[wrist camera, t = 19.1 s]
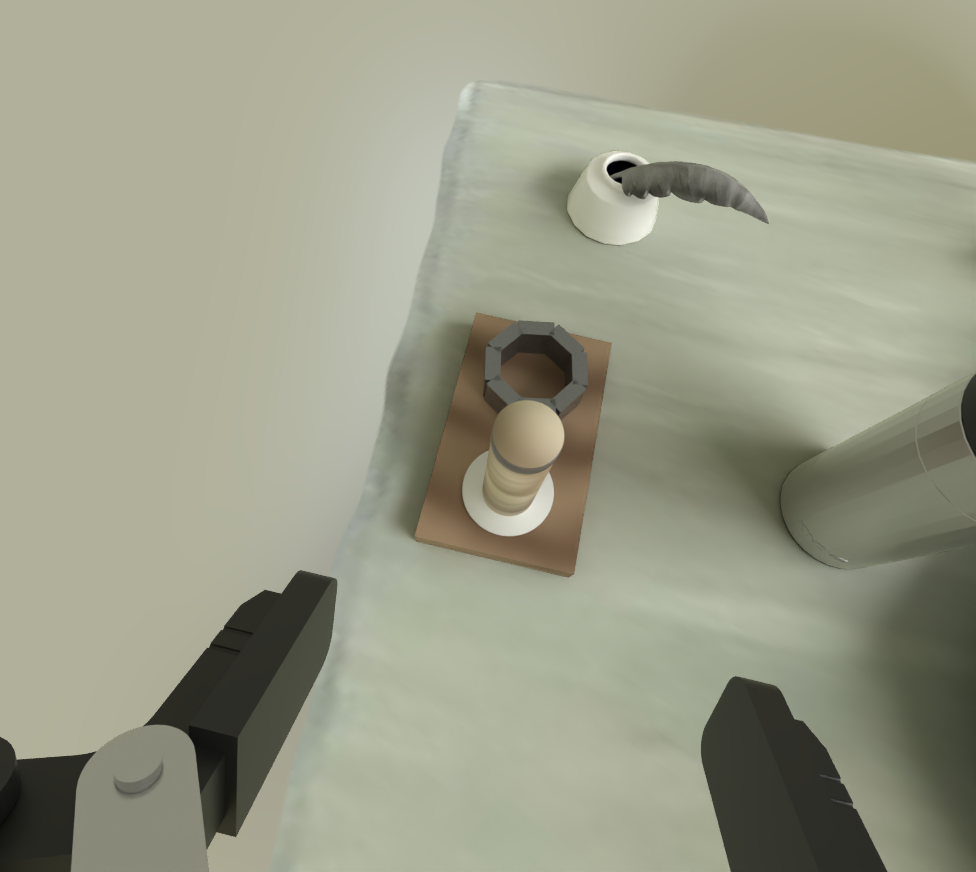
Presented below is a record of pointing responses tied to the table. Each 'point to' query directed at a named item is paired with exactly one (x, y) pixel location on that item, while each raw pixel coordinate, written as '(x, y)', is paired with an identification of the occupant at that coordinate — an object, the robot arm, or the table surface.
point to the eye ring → (537, 342)
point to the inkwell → (645, 194)
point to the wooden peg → (520, 455)
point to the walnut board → (471, 437)
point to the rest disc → (499, 522)
